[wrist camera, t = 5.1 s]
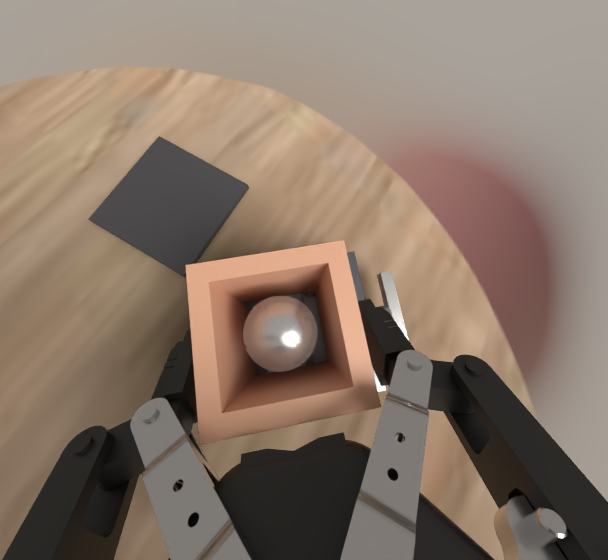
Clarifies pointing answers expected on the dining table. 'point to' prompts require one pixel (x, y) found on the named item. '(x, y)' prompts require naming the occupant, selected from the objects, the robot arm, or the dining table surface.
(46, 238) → the dining table surface
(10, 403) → the dining table surface
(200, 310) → the collar
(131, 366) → the dining table surface
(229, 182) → the mat
